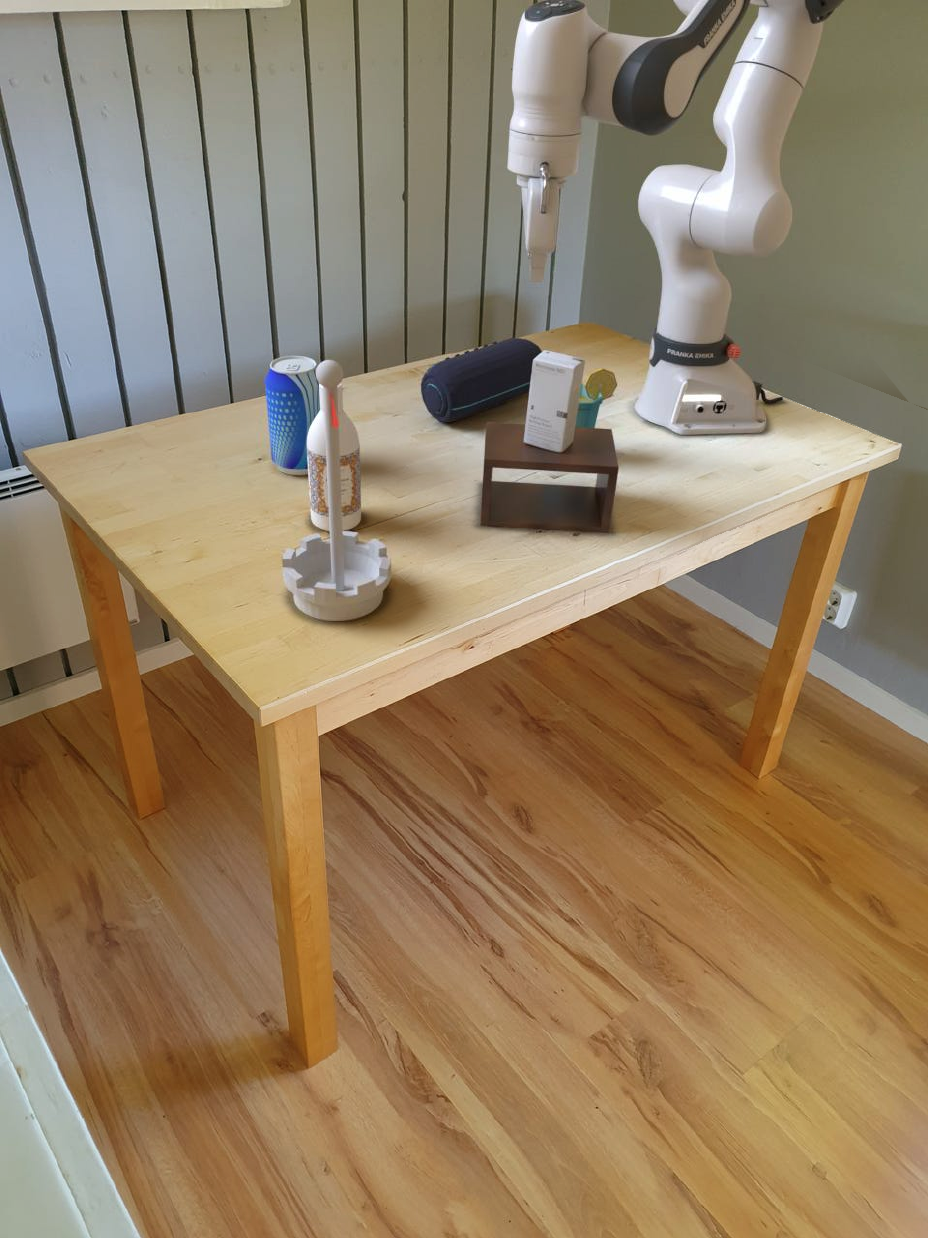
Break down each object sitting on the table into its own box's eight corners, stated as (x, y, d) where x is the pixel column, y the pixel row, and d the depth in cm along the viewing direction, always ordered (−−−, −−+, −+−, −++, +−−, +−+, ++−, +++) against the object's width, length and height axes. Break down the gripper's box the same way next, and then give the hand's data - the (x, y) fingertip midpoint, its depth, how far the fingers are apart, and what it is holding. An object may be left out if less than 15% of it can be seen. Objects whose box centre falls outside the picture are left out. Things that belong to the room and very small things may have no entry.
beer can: (260, 464, 146) (251, 362, 137) (303, 447, 151) (297, 348, 142) (296, 483, 142) (288, 379, 132) (339, 465, 147) (335, 364, 137)
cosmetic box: (522, 443, 132) (529, 358, 125) (535, 431, 136) (543, 348, 129) (563, 454, 130) (573, 368, 123) (575, 442, 134) (586, 357, 126)
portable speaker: (508, 379, 178) (512, 326, 172) (549, 396, 172) (555, 341, 166) (409, 416, 163) (409, 359, 157) (451, 435, 157) (453, 377, 151)
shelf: (602, 491, 144) (611, 428, 138) (609, 532, 134) (618, 467, 128) (482, 484, 144) (486, 421, 138) (480, 525, 134) (484, 459, 128)
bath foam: (313, 535, 130) (305, 395, 118) (308, 510, 136) (300, 374, 124) (364, 531, 131) (361, 393, 120) (357, 506, 137) (354, 371, 125)
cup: (542, 475, 147) (551, 382, 138) (516, 454, 152) (523, 363, 144) (616, 458, 153) (629, 368, 144) (588, 439, 158) (599, 350, 149)
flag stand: (278, 572, 122) (259, 342, 105) (379, 561, 126) (376, 335, 108) (292, 632, 112) (273, 388, 95) (401, 618, 115) (403, 380, 98)
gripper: (574, 174, 111) (562, 295, 119) (564, 140, 127) (555, 248, 135) (519, 172, 111) (512, 293, 119) (517, 138, 127) (510, 246, 136)
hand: (535, 268), depth 127 cm, fingers open, 8 cm apart
